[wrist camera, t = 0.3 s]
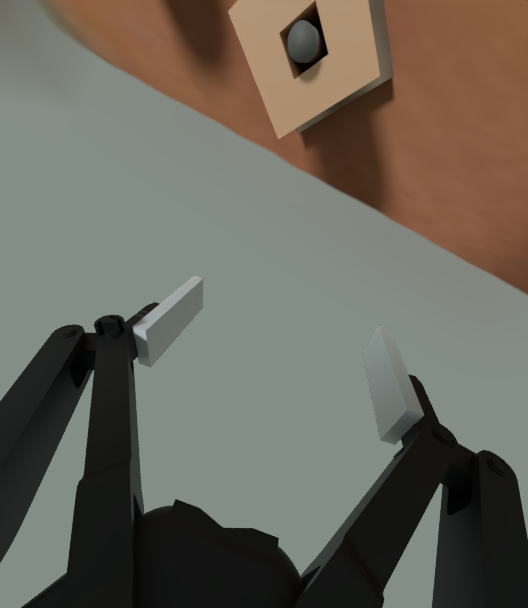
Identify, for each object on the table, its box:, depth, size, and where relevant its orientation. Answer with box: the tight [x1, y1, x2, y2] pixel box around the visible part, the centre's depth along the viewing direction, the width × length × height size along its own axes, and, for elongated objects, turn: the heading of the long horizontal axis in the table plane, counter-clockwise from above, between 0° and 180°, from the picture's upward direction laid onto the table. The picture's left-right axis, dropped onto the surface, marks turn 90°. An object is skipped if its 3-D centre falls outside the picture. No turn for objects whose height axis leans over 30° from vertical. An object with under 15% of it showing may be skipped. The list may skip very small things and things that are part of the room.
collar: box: [228, 0, 380, 139], centre depth 18 cm, size 8×8×6 cm
